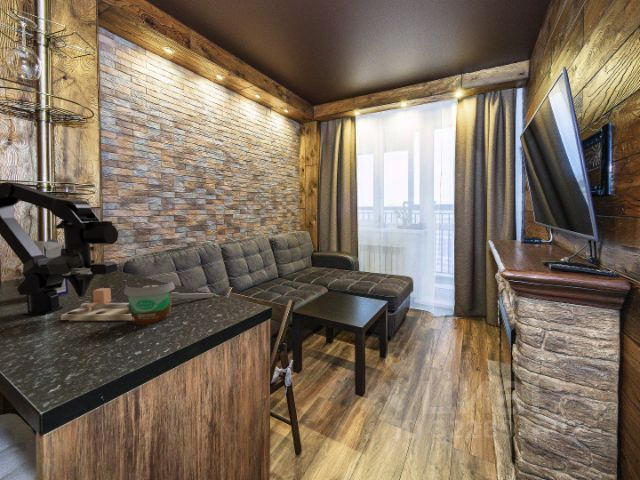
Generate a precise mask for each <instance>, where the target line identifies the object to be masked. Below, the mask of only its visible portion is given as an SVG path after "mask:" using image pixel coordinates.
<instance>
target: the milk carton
mask: <svg viewBox="0 0 640 480" xmlns="http://www.w3.org/2000/svg"><path fill="white" fill-rule="evenodd" d="M32 241H33V242H34V243H35V245H36V246H37V247H38V249H39V250H40V251H41V252H42V254H43V255H44V256H46V257H48V258H52V257H58V256H60V255H61V249H63V248H65V243H59V242H58V241H59V240H58V239H51V238H47V240H45V241H44V240H32ZM68 282H69V281H68V279H66V278H65V279H64V281H63V284H62V287H61V288H57V289H55V290H57V295H58V297H60V296H64V295H67V294H69V284H68Z"/></svg>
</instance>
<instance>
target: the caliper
mask: <svg viewBox="0 0 640 480" xmlns="http://www.w3.org/2000/svg"><path fill="white" fill-rule="evenodd" d="M214 295H215V296H214ZM213 296H214V297H218V295H217V294H215V293H213V292H205V293H204V292H202V293H201V292H200V293H199V292H198V293H197V292H196V293H193V292H192V293H191V292H190V293H180V292H178V291H177V292H175V291H174V292H173V291H172V299H171V302H178V301H179V300H180V299H211V298H214V297H213ZM210 297H211V298H210Z"/></svg>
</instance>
